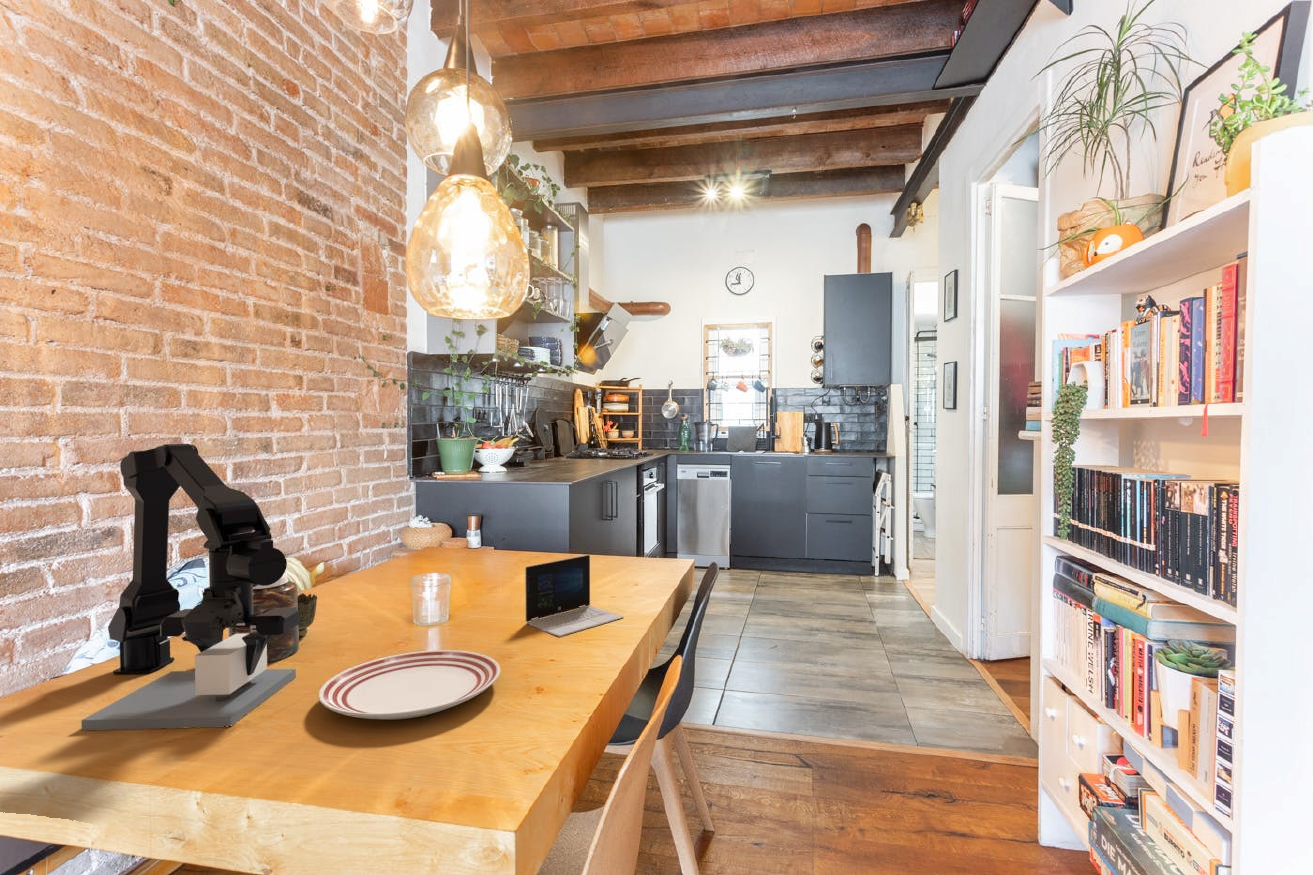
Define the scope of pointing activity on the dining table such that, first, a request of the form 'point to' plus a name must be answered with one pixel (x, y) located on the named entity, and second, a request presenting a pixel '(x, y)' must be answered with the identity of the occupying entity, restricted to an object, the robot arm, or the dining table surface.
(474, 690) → the dinner plate
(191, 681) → the board
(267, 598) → the jar
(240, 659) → the housing
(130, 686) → the dining table surface
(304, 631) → the cup
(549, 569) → the laptop
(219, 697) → the stubs
